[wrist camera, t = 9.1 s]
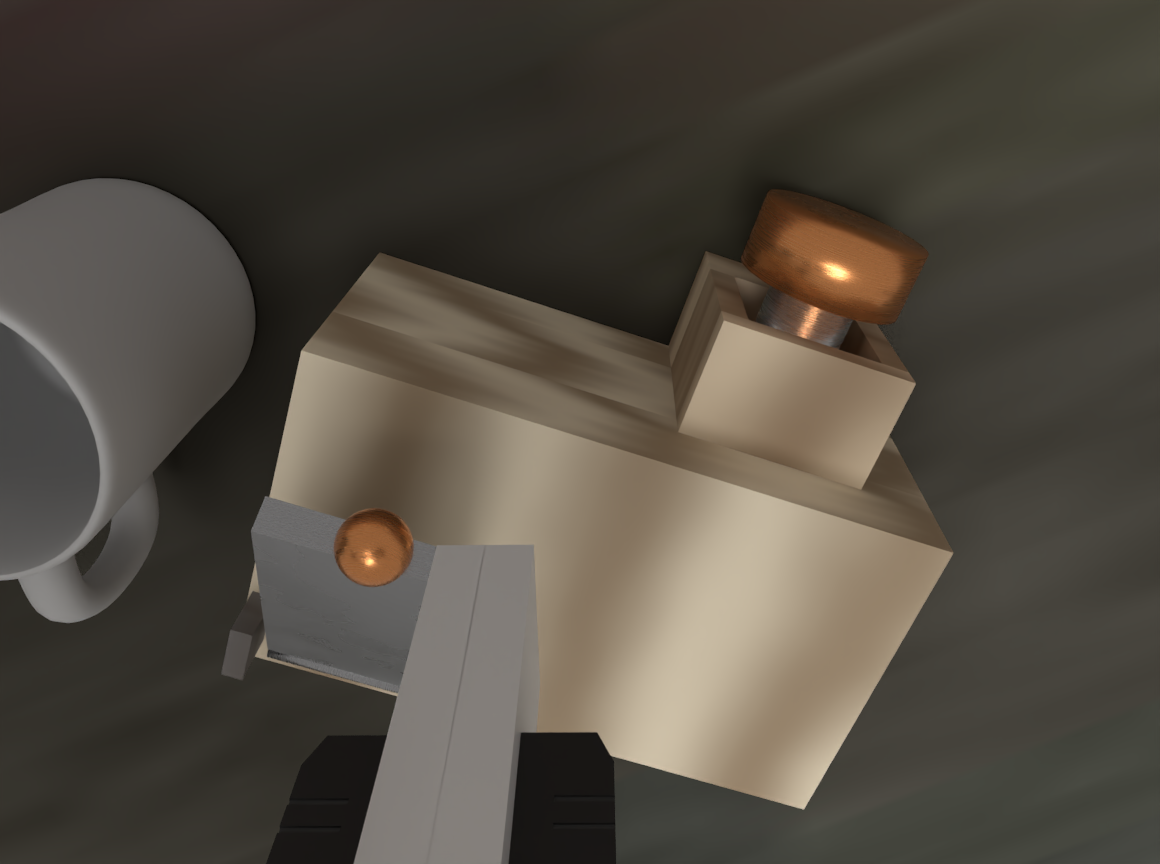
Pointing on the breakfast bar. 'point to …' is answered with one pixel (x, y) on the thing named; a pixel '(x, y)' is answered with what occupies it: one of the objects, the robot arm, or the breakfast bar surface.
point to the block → (637, 505)
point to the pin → (828, 267)
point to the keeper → (340, 590)
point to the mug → (104, 375)
